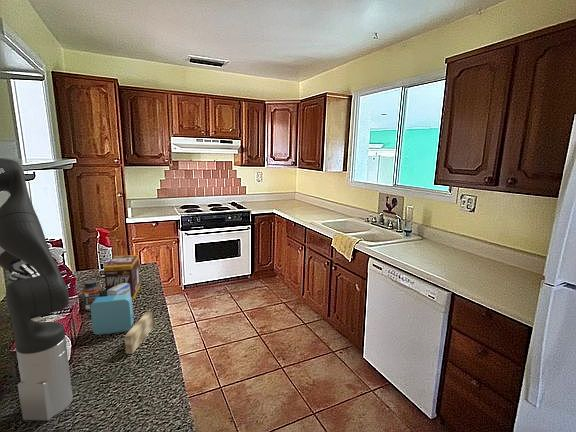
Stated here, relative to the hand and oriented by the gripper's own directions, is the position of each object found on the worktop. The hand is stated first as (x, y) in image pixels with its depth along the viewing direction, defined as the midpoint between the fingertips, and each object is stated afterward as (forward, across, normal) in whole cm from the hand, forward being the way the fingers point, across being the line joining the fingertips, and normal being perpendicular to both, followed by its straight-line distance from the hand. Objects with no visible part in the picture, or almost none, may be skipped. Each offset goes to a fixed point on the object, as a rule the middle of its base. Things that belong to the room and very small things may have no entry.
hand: (46, 288), depth 109 cm
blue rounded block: (+26, 0, -5) cm, 27 cm away
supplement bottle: (+14, +15, +7) cm, 22 cm away
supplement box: (+19, +29, +3) cm, 35 cm away
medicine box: (+22, +17, 0) cm, 28 cm away
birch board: (+35, -6, -14) cm, 38 cm away
